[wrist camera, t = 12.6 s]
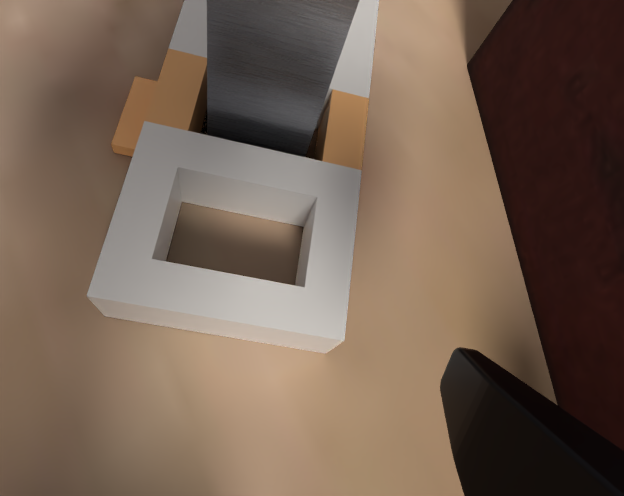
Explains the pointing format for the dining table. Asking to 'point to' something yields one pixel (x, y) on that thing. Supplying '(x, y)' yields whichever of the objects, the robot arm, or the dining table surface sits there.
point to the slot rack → (235, 201)
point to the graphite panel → (272, 68)
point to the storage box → (564, 186)
